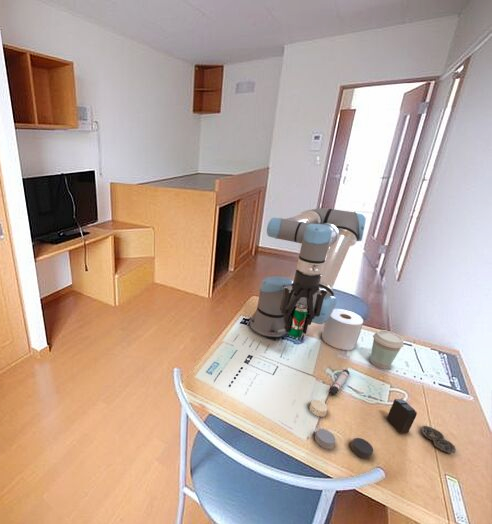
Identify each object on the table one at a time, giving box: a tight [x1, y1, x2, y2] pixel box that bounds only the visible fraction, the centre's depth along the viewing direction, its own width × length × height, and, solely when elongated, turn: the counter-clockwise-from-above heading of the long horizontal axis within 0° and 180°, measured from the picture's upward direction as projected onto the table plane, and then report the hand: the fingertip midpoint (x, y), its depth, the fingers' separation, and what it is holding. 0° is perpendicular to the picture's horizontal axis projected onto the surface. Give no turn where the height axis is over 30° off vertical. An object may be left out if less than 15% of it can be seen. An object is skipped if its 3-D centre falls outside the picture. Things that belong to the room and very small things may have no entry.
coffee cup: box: [369, 329, 404, 370], centre depth 109 cm, size 8×8×12 cm
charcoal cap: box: [350, 437, 374, 460], centre depth 79 cm, size 4×4×2 cm
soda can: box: [287, 303, 308, 339], centre depth 107 cm, size 5×5×12 cm
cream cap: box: [309, 399, 329, 418], centre depth 91 cm, size 4×4×2 cm
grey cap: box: [314, 428, 336, 450], centre depth 82 cm, size 4×4×2 cm
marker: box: [329, 369, 350, 396], centre depth 101 cm, size 15×2×2 cm, turn 132°
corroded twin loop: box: [421, 425, 456, 454], centre depth 82 cm, size 5×8×1 cm, turn 3°
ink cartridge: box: [386, 398, 418, 434], centre depth 85 cm, size 5×2×8 cm, turn 2°
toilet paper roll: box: [321, 308, 364, 351], centre depth 121 cm, size 12×12×12 cm
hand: (295, 330), depth 109 cm, fingers closed on soda can, 5 cm apart
